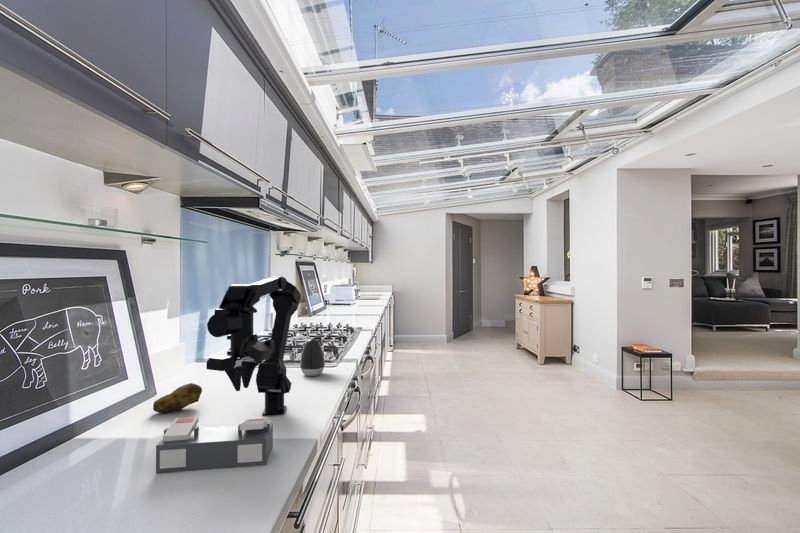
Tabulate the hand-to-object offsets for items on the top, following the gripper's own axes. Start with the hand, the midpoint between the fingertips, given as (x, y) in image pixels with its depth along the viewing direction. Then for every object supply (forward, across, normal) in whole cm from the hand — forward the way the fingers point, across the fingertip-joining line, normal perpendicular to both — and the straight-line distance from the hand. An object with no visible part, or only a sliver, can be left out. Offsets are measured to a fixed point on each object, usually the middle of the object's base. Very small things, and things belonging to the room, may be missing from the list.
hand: (242, 389), depth 106 cm
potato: (+12, +7, +32) cm, 35 cm away
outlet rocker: (+4, -17, +2) cm, 18 cm away
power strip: (+12, -13, -5) cm, 19 cm away
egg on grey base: (+12, +58, +16) cm, 61 cm away
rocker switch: (+4, -9, -12) cm, 16 cm away
